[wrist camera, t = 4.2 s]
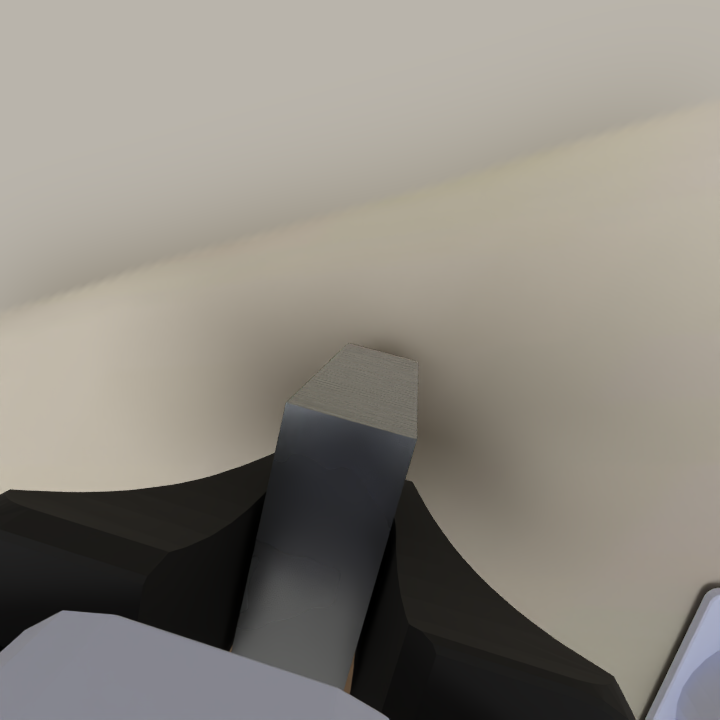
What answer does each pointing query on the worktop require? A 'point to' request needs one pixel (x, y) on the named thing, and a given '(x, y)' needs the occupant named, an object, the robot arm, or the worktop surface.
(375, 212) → the worktop surface
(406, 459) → the panel
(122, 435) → the worktop surface
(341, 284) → the worktop surface
